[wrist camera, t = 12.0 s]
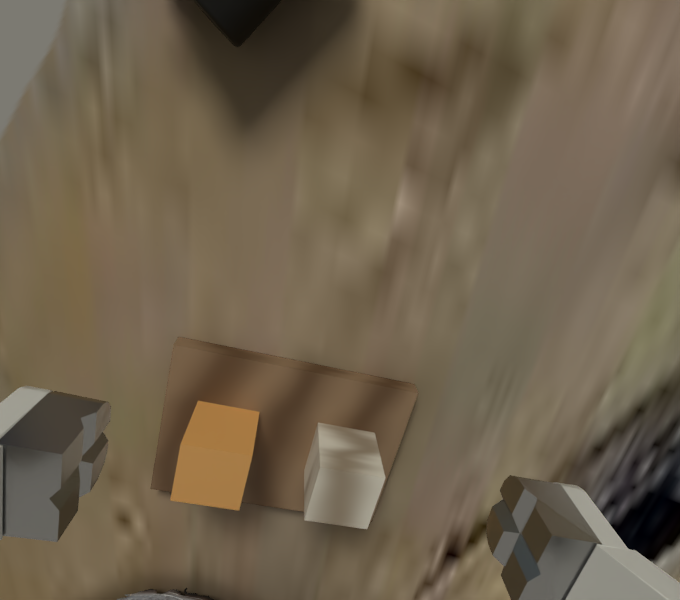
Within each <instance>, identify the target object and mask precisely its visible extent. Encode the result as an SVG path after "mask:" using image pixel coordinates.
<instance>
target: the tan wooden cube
mask: <svg viewBox="0 0 680 600" xmlns="http://www.w3.org/2000/svg"><path fill="white" fill-rule="evenodd" d="M259 413H260V412H258V411H252V410H247V409H241V408H236V407H230V406H225V405H219V404H214V403H208V402H203V401H198V402H197V405H196V407H195V410H194V412H193V414H192V417H191V419H190V422H189V424H188V427H187V429H186V432H185V434H184V437H183V439H182V442H181V444H180V450H179V455H178V461H177V466H176V472H175V477H174V483H173V488H172V494H171V499H170V500H171V501H178V502H184V503H191V504H198V505H205V506H211V507H218V508H225V509H232V510H239V509H240V505H241V501H242V497H243V492H244V488H245V484H246V480H247V476H248V472H249V468H250V464H251V460H252V455H253V449H254V443H255V437H256V431H257V425H258V419H259Z"/></svg>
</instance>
